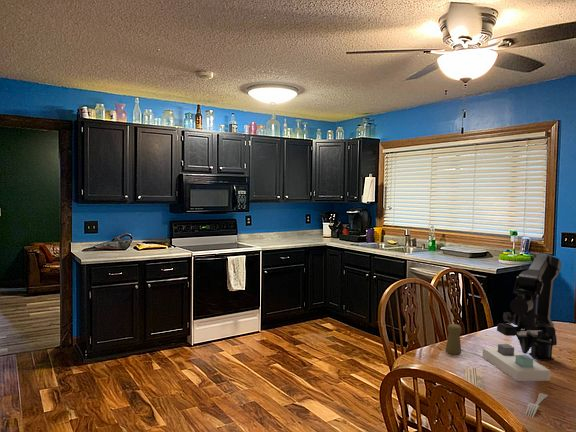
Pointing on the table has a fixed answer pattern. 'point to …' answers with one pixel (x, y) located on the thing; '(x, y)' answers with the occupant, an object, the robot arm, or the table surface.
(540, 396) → the fork
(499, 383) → the table surface
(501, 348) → the dark grey cube
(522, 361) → the teal green cube
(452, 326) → the olive brown upright piece
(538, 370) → the white socket board
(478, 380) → the newspaper
